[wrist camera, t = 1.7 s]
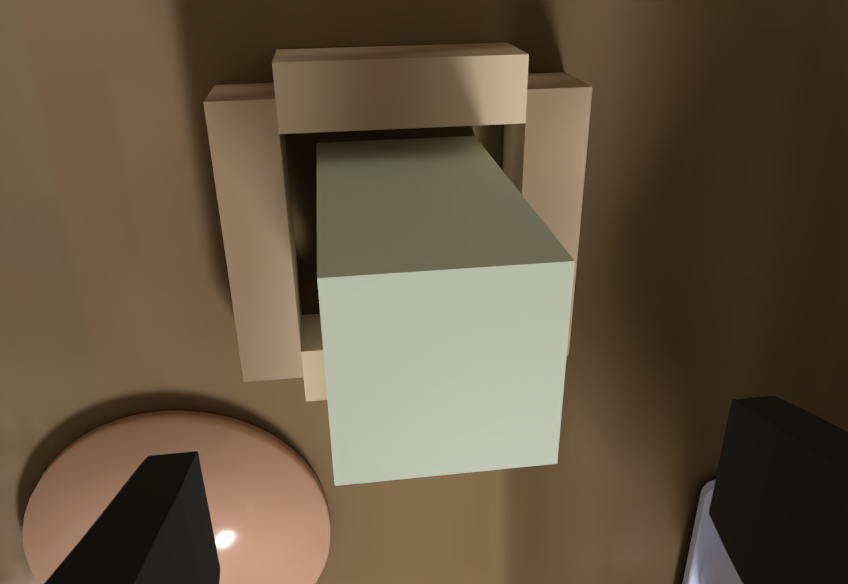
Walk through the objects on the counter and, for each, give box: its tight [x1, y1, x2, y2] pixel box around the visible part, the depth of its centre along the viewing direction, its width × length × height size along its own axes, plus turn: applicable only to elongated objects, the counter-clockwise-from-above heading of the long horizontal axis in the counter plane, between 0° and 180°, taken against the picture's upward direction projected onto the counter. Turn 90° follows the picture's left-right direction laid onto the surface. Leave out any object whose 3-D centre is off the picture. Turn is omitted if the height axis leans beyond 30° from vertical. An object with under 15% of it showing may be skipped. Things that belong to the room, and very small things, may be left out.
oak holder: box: [203, 42, 592, 401], centre depth 18 cm, size 8×8×2 cm
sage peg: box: [316, 136, 575, 486], centre depth 16 cm, size 4×4×8 cm
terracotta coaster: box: [22, 410, 330, 584], centre depth 22 cm, size 9×9×1 cm
